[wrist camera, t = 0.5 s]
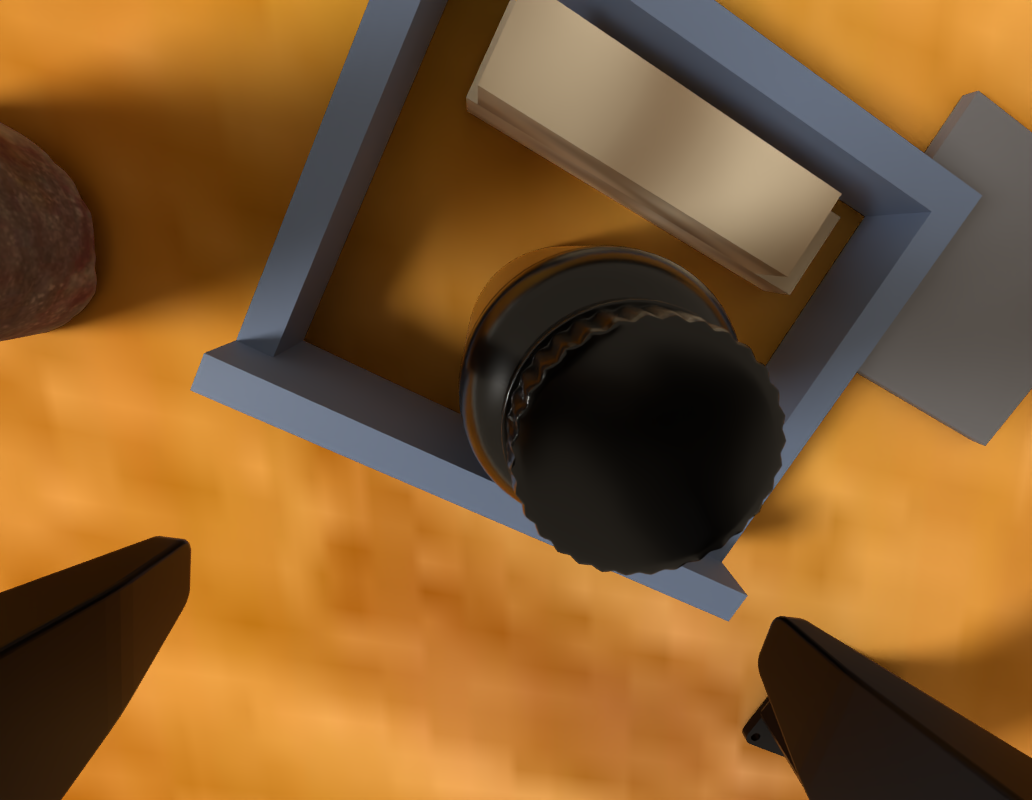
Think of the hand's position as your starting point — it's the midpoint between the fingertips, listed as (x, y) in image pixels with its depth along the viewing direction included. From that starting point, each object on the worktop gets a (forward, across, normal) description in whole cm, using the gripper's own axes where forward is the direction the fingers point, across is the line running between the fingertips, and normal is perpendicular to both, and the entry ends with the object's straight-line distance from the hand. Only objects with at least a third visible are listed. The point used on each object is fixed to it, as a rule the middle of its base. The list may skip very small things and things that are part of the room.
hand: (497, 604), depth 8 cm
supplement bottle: (+13, -2, -2) cm, 14 cm away
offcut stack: (+13, -4, -9) cm, 17 cm away
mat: (+13, -18, -8) cm, 24 cm away
